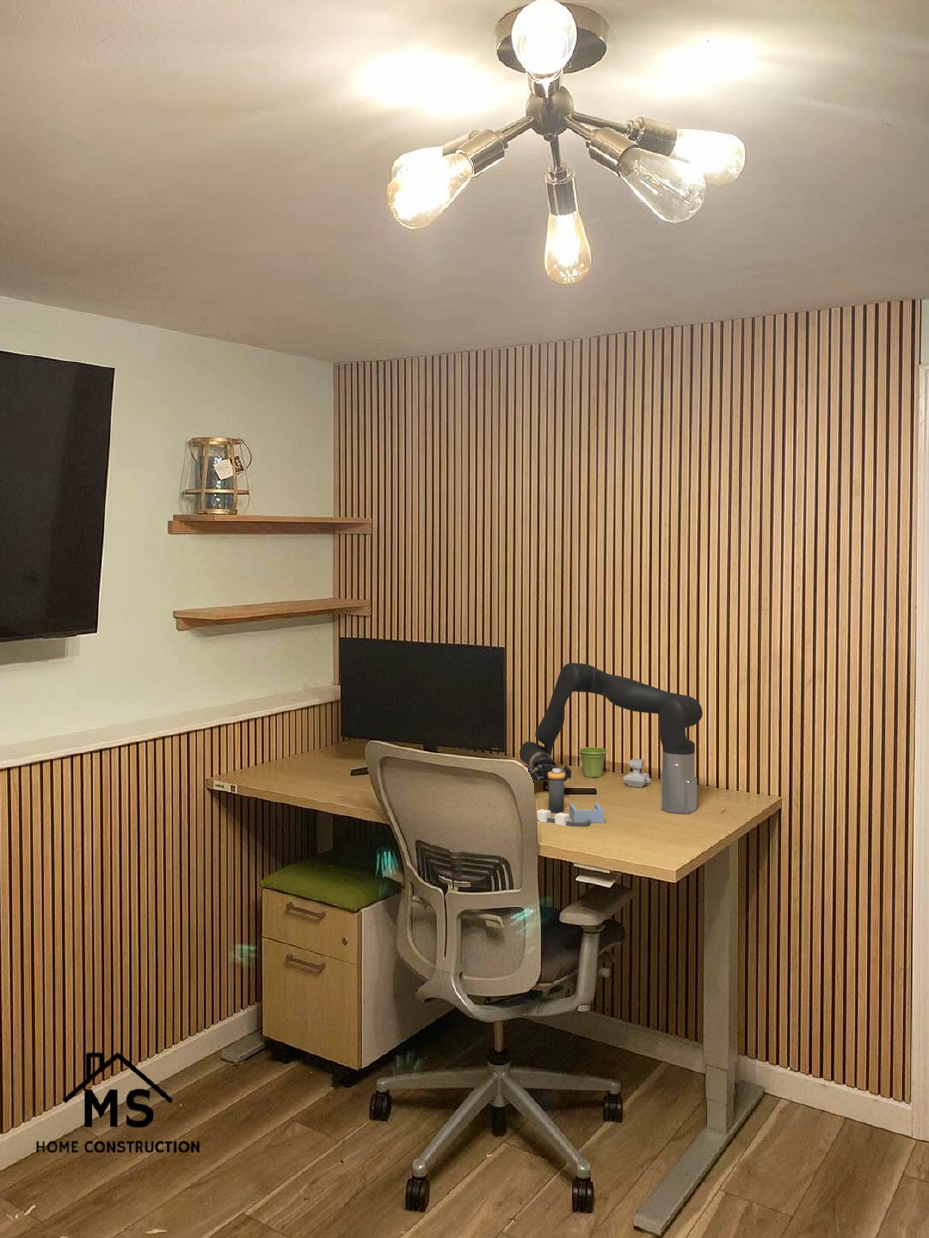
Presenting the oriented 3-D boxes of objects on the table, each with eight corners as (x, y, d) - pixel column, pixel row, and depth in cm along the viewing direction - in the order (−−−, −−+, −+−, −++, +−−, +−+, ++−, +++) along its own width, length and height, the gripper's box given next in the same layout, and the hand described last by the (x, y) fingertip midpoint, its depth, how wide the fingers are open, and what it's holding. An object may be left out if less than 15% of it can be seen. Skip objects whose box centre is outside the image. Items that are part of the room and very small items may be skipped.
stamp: (620, 786, 321) (620, 760, 321) (625, 782, 327) (626, 756, 327) (647, 790, 318) (648, 763, 317) (653, 785, 324) (653, 759, 323)
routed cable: (593, 823, 281) (593, 814, 281) (581, 829, 275) (581, 820, 275) (547, 814, 290) (547, 805, 289) (534, 820, 284) (534, 811, 284)
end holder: (569, 814, 290) (569, 802, 289) (597, 814, 290) (598, 802, 290) (574, 823, 281) (574, 810, 281) (604, 822, 282) (604, 810, 282)
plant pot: (598, 780, 330) (598, 754, 329) (573, 776, 335) (573, 750, 335) (612, 775, 337) (612, 749, 336) (587, 770, 343) (587, 745, 342)
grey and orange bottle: (568, 810, 294) (568, 768, 293) (559, 814, 290) (559, 771, 289) (553, 807, 297) (553, 766, 296) (544, 811, 293) (544, 769, 292)
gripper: (520, 754, 319) (527, 766, 303) (565, 753, 320) (574, 765, 304) (520, 777, 320) (527, 790, 304) (564, 777, 321) (573, 789, 305)
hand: (550, 778), depth 304 cm, fingers open, 8 cm apart
